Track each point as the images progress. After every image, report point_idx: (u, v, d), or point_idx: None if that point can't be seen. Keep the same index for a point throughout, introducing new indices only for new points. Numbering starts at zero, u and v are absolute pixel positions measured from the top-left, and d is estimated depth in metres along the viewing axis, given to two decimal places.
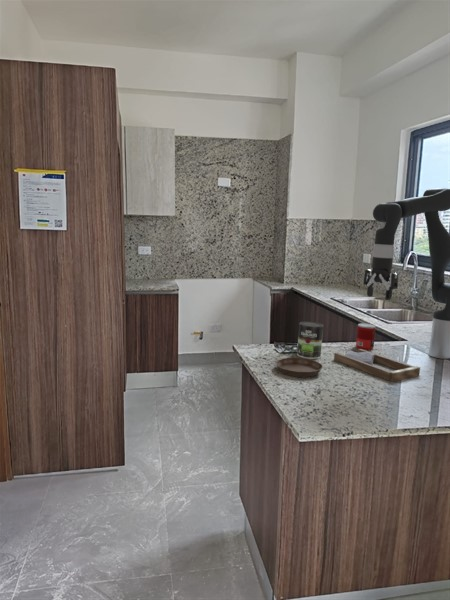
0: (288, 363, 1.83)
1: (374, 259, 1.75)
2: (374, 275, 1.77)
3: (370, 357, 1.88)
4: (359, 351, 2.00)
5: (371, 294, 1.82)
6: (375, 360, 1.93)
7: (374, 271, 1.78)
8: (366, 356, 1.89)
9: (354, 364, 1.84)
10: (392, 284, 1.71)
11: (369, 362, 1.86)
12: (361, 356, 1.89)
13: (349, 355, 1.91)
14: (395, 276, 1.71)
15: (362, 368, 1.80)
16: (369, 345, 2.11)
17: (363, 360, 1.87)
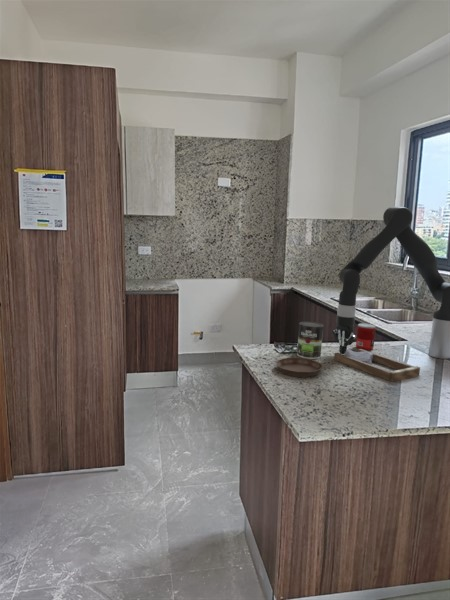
0: (288, 363, 1.83)
1: (338, 317, 1.96)
2: (338, 331, 1.98)
3: (368, 356, 1.88)
4: (359, 351, 2.00)
5: None
6: (375, 360, 1.93)
7: (338, 326, 2.00)
8: (364, 355, 1.90)
9: (354, 364, 1.84)
10: (347, 342, 1.95)
11: (367, 361, 1.87)
12: (360, 355, 1.90)
13: (348, 354, 1.92)
14: (353, 339, 1.94)
15: (362, 368, 1.80)
16: (369, 345, 2.11)
17: (361, 359, 1.88)
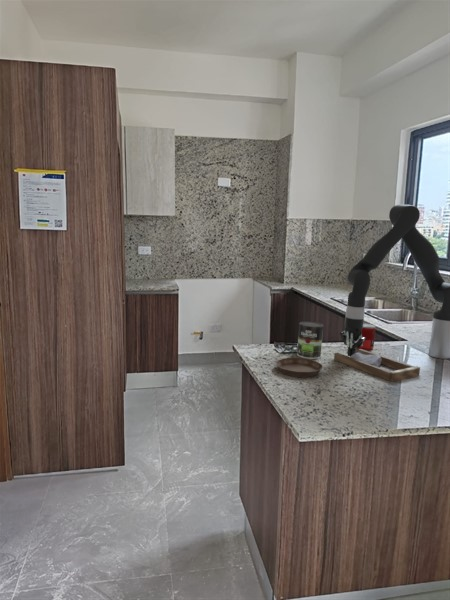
0: (288, 363, 1.83)
1: (346, 319, 1.92)
2: (347, 333, 1.94)
3: (375, 360, 1.84)
4: (359, 351, 2.00)
5: None
6: None
7: (346, 328, 1.96)
8: (371, 358, 1.85)
9: (354, 364, 1.84)
10: (356, 345, 1.91)
11: (373, 364, 1.82)
12: (366, 358, 1.86)
13: (354, 357, 1.88)
14: (362, 341, 1.90)
15: (362, 368, 1.80)
16: (369, 345, 2.11)
17: (367, 362, 1.83)
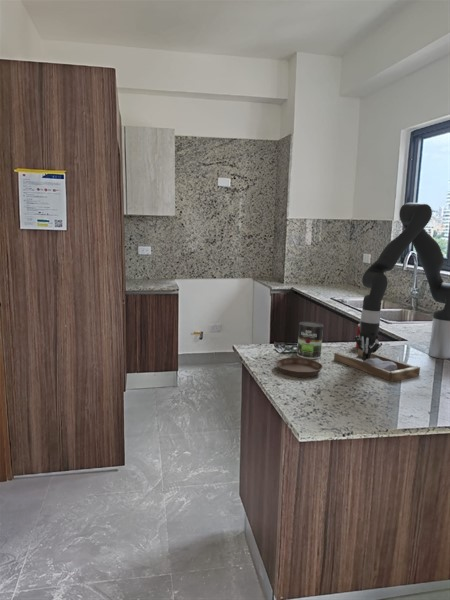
0: (288, 363, 1.83)
1: (362, 323, 1.85)
2: (362, 338, 1.88)
3: (385, 366, 1.77)
4: (359, 351, 2.00)
5: None
6: None
7: (361, 332, 1.89)
8: (383, 364, 1.78)
9: (354, 364, 1.84)
10: (371, 350, 1.84)
11: None
12: (378, 364, 1.80)
13: (367, 361, 1.83)
14: (378, 346, 1.83)
15: (362, 368, 1.80)
16: None
17: None
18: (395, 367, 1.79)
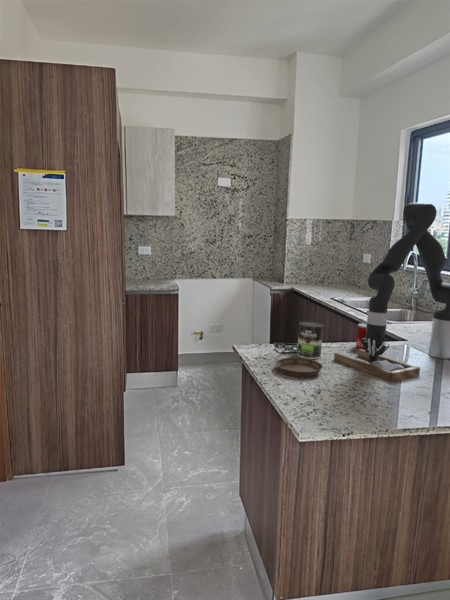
0: (288, 363, 1.83)
1: (368, 325, 1.82)
2: (368, 340, 1.85)
3: (392, 368, 1.74)
4: (359, 351, 2.00)
5: None
6: None
7: (367, 335, 1.86)
8: (390, 367, 1.76)
9: (354, 364, 1.84)
10: (378, 352, 1.82)
11: None
12: (385, 366, 1.77)
13: (375, 363, 1.81)
14: (385, 348, 1.80)
15: (362, 368, 1.80)
16: None
17: None
18: None
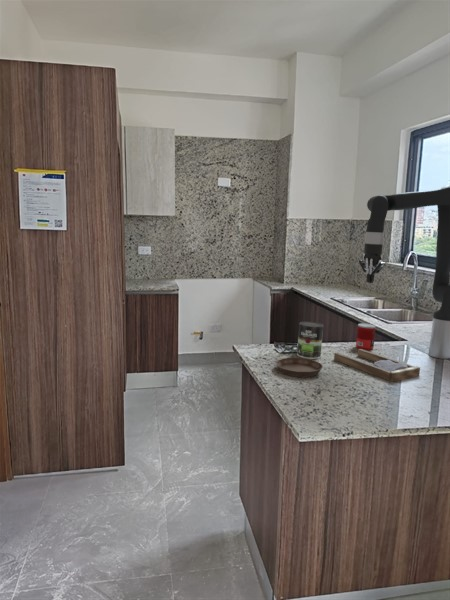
0: (288, 363, 1.83)
1: (366, 245, 1.96)
2: (366, 260, 1.99)
3: (396, 368, 1.75)
4: (359, 351, 2.00)
5: None
6: (375, 360, 1.93)
7: (365, 255, 2.00)
8: (394, 366, 1.77)
9: (354, 364, 1.84)
10: (375, 270, 1.96)
11: None
12: (389, 365, 1.78)
13: (378, 362, 1.82)
14: (381, 266, 1.94)
15: (362, 368, 1.80)
16: (369, 345, 2.11)
17: (386, 369, 1.76)
18: None
